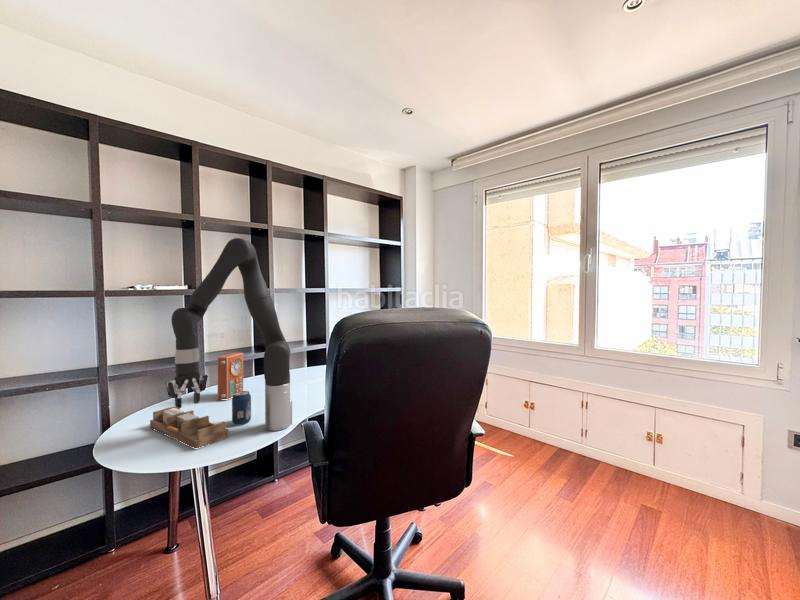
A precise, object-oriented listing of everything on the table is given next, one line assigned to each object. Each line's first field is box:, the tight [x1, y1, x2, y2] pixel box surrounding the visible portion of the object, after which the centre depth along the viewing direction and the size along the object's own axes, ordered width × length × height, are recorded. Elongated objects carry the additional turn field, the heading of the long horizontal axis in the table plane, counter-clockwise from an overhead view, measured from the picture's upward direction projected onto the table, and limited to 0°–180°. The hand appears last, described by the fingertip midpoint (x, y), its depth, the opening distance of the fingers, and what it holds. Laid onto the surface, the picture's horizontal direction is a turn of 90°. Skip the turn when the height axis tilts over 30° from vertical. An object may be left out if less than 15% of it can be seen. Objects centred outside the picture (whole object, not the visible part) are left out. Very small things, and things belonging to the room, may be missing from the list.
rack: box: [149, 405, 229, 448], centre depth 121 cm, size 11×34×6 cm, turn 59°
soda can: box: [231, 390, 252, 426], centre depth 131 cm, size 7×7×12 cm
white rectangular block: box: [177, 413, 200, 431], centre depth 121 cm, size 4×8×5 cm, turn 58°
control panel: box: [217, 352, 244, 400], centre depth 164 cm, size 21×7×15 cm
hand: (187, 405), depth 121 cm, fingers open, 5 cm apart
